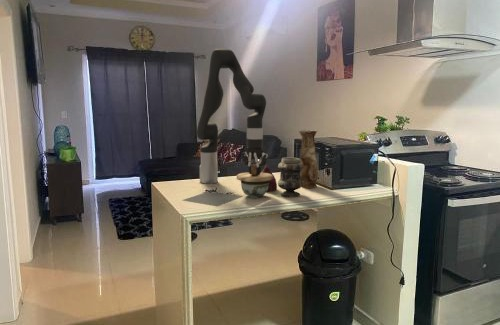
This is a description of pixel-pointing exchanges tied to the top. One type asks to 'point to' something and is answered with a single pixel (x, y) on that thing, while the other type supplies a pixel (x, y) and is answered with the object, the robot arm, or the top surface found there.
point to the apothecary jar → (290, 176)
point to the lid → (254, 176)
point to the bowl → (255, 188)
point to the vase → (308, 159)
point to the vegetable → (272, 182)
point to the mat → (212, 198)
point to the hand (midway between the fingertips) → (254, 174)
